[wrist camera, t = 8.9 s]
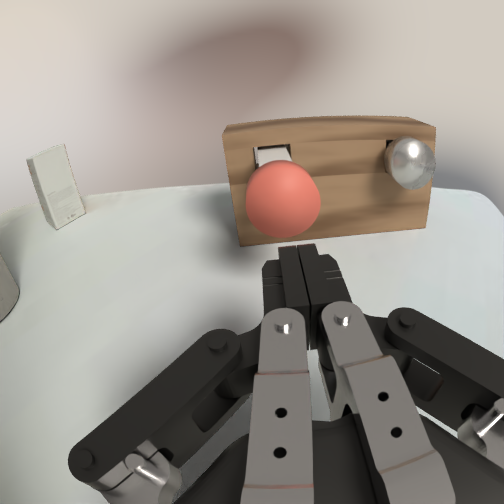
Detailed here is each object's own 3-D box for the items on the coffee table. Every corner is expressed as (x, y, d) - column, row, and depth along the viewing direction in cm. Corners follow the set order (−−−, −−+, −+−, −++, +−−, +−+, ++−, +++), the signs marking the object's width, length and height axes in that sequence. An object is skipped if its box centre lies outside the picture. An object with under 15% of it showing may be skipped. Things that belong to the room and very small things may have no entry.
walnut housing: (425, 227, 28) (435, 127, 22) (240, 246, 29) (221, 135, 23) (403, 204, 33) (407, 117, 27) (241, 219, 34) (227, 125, 28)
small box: (86, 213, 45) (64, 142, 38) (56, 230, 41) (31, 158, 34) (73, 207, 49) (54, 145, 42) (47, 222, 46) (25, 159, 39)
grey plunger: (432, 189, 22) (437, 141, 20) (391, 190, 23) (394, 140, 20) (383, 153, 33) (383, 119, 30) (350, 154, 33) (349, 118, 30)
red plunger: (321, 234, 18) (319, 166, 16) (250, 241, 18) (240, 173, 16) (295, 173, 28) (292, 130, 26) (251, 178, 29) (245, 135, 26)
